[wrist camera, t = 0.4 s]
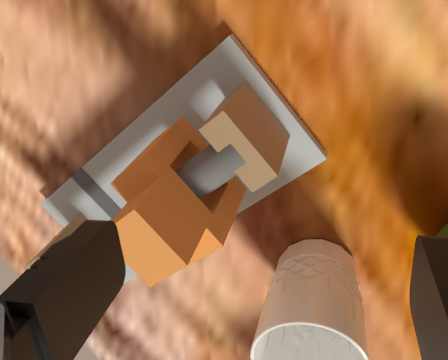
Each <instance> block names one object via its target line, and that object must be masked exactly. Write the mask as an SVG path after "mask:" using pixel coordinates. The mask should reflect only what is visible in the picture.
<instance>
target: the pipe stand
mask: <svg viewBox="0 0 448 360" xmlns="http://www.w3.org/2000/svg"><path fill="white" fill-rule="evenodd" d="M182 116H184V117H185V119H186V120H187V121H188V122H189V123H190V124H191V126H192V127H193V128H194V129H195V130H196V131H197V133H198V134H199V135H200V136H201V137H202V138H203V140H204V141H205V142H206V143H207V144H208V145H209V146H207V147H206V148H205V149H203V150H202V151H201V152H199V153H198V154H197V155H195V156H194V157H193V158H191V159H190V160H189V161H187V162H186V163H185V164H183V165H182V166H181V167H179V168H178V169H177V170H175V172H176V174H177V175H178V176H179V177H180V178H181V179H182V180H183V181H184V182H185V184H186V185H187V186H188V187H189V188H190V189H191V190H192V191H193V192H194V194H195V195H196V196H197V197H198V198H199V199H202V198H203V197H205V196H206V195H208V194H209V193H211V192H212V191H214V190H215V189H217V188H218V187H220V186H221V185H223V184H224V183H226V182H227V181H229V180H230V179H231V178H233V177H234V176H235V177H236V178H237V179H238V180H239V181H240V182H241V184H242V185H243V186H244V187H245V188H246V191H245V194H244V196H243V198H242V201H241V203H240V206H239V208H238V211H237V213H236V215H237V214H239V213H240V212H242V211H244V210H245V209H247V208H248V207H250V206H252V205H253V204H255V203H256V202H258V201H260V200H261V199H263V198H265V197H266V196H268V195H269V194H271V193H273V192H274V191H276V190H278V189H279V188H281V187H282V186H284V185H286V184H287V183H289V182H291V181H292V180H294V179H295V178H297V177H299V176H300V175H302V174H304V173H305V172H307V171H308V170H310V169H312V168H313V167H315V166H316V165H318V164H320V163H321V162H323V161H325V160H326V159H327V152H326V151H325V150H324V149H323V147H322V146H321V145H320V144H319V142H318V141H317V140H316V138H315V137H314V136H313V135H312V133H311V132H310V131H309V130H308V128H307V127H306V126H305V124H304V123H303V122H302V121H301V119H300V118H299V117H298V116H297V114H296V113H295V112H294V111H293V109H292V108H291V107H290V105H289V104H288V103H287V102H286V100H285V99H284V98H283V97H282V95H281V94H280V93H279V91H278V90H277V89H276V88H275V86H274V85H273V84H272V83H271V81H270V80H269V79H268V77H267V76H266V75H265V74H264V72H263V71H262V70H261V69H260V67H259V66H258V65H257V64H256V62H255V61H254V60H253V58H252V57H251V56H250V55H249V53H248V52H247V51H246V50H245V48H244V47H243V46H242V44H241V43H240V42H239V41H238V39H237V38H236V37H235V36H234V34H233V33H232V34H231V35H229V36H228V37H227V38H226V39H225V40H224V41H223V42H221V43H220V44H219V45H218V46H217V47H216V48H215V49H214V50H213V51H211V52H210V53H209V54H208V55H207V56H206V57H205V58H204V59H202V60H201V61H200V62H199V63H198V64H197V65H196V66H195V67H193V68H192V69H191V70H190V71H189V72H188V73H187V74H186V75H185V76H183V77H182V78H181V79H180V80H179V81H178V82H177V83H176V84H174V85H173V86H172V87H171V88H170V89H169V90H168V91H167V92H166V93H164V94H163V95H162V96H161V97H160V98H159V99H158V100H157V101H155V102H154V103H153V104H152V105H151V106H150V107H149V108H148V109H147V110H145V111H144V112H143V113H142V114H141V115H140V116H139V117H138V118H136V119H135V120H134V121H133V122H132V123H131V124H130V125H129V126H127V127H126V128H125V129H124V130H123V131H122V132H121V133H120V134H119V135H117V136H116V137H115V138H114V139H113V140H112V141H111V142H110V143H108V144H107V145H106V146H105V147H104V148H103V149H102V150H101V151H100V152H98V153H97V154H96V155H95V156H94V157H93V158H92V159H91V160H89V161H88V162H87V163H86V164H85V165H84V166H83V167H82V168H80V169H79V170H78V171H77V172H76V173H75V174H74V175H73V176H71V177H70V178H69V179H68V180H67V181H66V182H65V183H64V184H63V185H61V186H60V187H59V188H58V189H57V190H56V191H55V192H54V193H53V194H51V195H50V196H49V197H48V198H47V199H46V200H45V201H44V202H42V203H41V204H40V205H41V206H42V207H43V208H44V209H45V210H46V211H47V212H48V213H49V214H50V215H51V216H52V217H53V218H54V219H55V220H56V221H57V222H58V223H59V224H60V225H61V226H62V227H63V228H64V229H63V230H62V231H61V232H60V233H59V234H58V235H57V236H55V237H54V238H53V239H52V240H51V241H50V242H49V243H48V244H47V245H46V246H45V247H44V248H43V249H42V250H41V251H40V252H39V253H38V254H37V255H36V256H35V257H34V258H33V259H32V260H31V261H30V262H29V263H28V264H27V265H26V266H25V268H26V269H30V266H31V265H32V264H33V263H34V262H35V261H36V260H37V259H40V256H41V255H42V254H43V253H45V252H46V251H47V250H48V249H49V248H50V247H51V246H52V245H53V244H55V243H57V242H59V241H60V240H62V239H64V238H65V237H67V236H70V235H71V234H72V233H73V232H74V231H75V230H76V229H77V228H78V227H79V226H80V225H81V224H82V223H83V222H84V221H86V220H106V221H112V220H113V218H114V217H115V216H116V215H117V214H118V213H119V211H120V210H121V209H122V208H123V207H124V206H125V204H126V203H127V202H126V201H125V199H124V198H123V197H122V196H121V195H120V194H119V193H118V192H117V191H116V190H115V189H114V188H113V187H112V186H111V185H110V183H111V182H112V181H113V180H114V179H115V178H116V177H117V176H118V175H119V174H120V173H121V172H122V171H123V170H124V169H125V168H126V167H127V166H128V165H129V164H130V163H131V162H132V161H133V160H134V159H135V158H136V157H137V156H138V155H139V154H140V153H141V152H142V151H143V150H144V149H145V148H146V147H147V146H148V145H149V144H150V143H151V142H152V141H153V140H154V139H155V138H157V137H158V136H159V135H160V134H161V133H163V132H164V131H165V130H166V129H167V128H169V127H170V126H171V125H172V124H173V123H175V122H176V121H177V120H178V119H179V118H181V117H182ZM125 267H126V274H125V280H124V283H123V285H124V284H125V283H127V282H128V281H130V280H132V279H133V278H135V277H137V276H138V275H137V274H136V273H135V272H134V271H133V270H132V269H131V268H130V267H129V266H128V265H127V264H126V263H125Z"/></svg>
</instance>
